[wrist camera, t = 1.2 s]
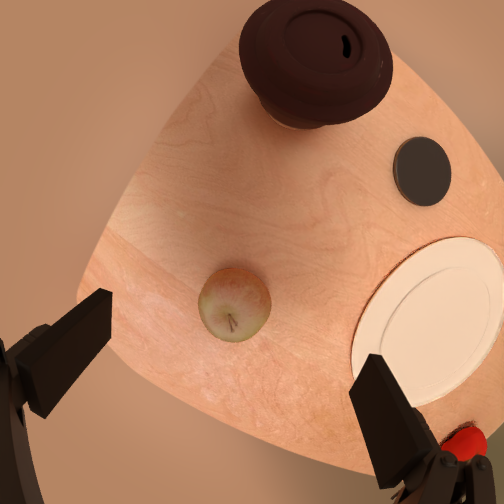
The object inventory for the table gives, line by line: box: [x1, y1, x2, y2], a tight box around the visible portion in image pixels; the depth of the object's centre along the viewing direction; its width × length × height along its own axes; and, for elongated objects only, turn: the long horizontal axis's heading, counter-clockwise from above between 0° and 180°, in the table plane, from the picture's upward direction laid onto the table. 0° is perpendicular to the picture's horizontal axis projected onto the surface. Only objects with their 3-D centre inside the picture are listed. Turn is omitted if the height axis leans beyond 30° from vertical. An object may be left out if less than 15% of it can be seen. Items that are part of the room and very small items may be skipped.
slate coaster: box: [393, 137, 451, 206], centre depth 28 cm, size 8×8×1 cm
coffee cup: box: [239, 0, 393, 130], centre depth 20 cm, size 10×10×15 cm
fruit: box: [198, 268, 271, 342], centre depth 29 cm, size 8×7×8 cm
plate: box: [352, 237, 504, 407], centre depth 33 cm, size 28×28×1 cm
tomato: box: [441, 427, 487, 462], centre depth 37 cm, size 11×12×9 cm
